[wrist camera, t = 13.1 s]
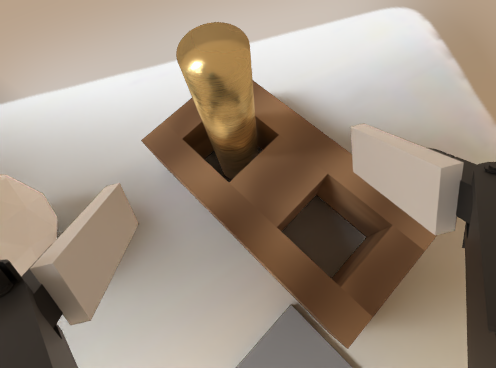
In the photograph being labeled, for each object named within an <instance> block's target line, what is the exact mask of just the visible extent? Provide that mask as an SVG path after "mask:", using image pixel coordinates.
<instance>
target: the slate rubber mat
mask: <svg viewBox="0 0 496 368" xmlns="http://www.w3.org/2000/svg"><path fill="white" fill-rule="evenodd" d="M236 368H352V367H351V366H350V365H349V364H348V363H347V362H346V361H345V360H344V358H343V357H342V356H341V355H340V354H339V353H338V352H337V351H336V350H335V349H334V348H333V347H332V346H331V345H330V344H329V343H328V342H327V341H326V340H325V339H324V338H323V337H322V336H321V335H320V334H319V333H318V332H317V331H316V330H315V329H314V328H313V327H312V326H311V325H310V324H309V323H308V321H307V320H306V319H305V318H304V317H303V316H302V315H301V314H300V313H299V312H298V311H297V310H296V309H295V308H294V307H293V306H292V305H290V306H289V307H288V308H287V310H286V311H285V312H284V313H283V314H282V315H281V316H280V318H279V319H278V320H277V321H276V322H275V323H274V324H273V326H272V327H271V328H270V329H269V330H268V331H267V333H266V334H265V335H264V336H263V337H262V338H261V339H260V341H259V342H258V343H257V344H256V345H255V346H254V347H253V349H252V350H251V351H250V352H249V353H248V354H247V355H246V357H245V358H244V359H243V360H242V361H241V362H240V363H239V365H238V366H237V367H236Z"/></svg>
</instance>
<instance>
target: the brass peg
mask: <svg viewBox="0 0 496 368" xmlns="http://www.w3.org/2000/svg"><path fill="white" fill-rule="evenodd" d="M176 56H177V61H178V64H179V66H180V68H181V71H182V73H183V76H184V78H185V81H186V83H187V86H188V88H189V90H190V93H191V95H192V98H193V100H194V103H195V105H196V107H197V110H198V112H199V115H200V117H201V120H202V122H203V125H204V127H205V129H206V132H207V134H208V137H209V139H210V142H211V144H212V146H213V149H214V151H215V154H216V156H217V159H218V161H219V163H220V166H221V168H222V171H223V173H224V174H225V176H226V177H227V178H229V179H230V180H232V179H233V178H234V177H236V176H237V175H238V174H239V173H240V172H241V171H242V170H243V169H244V168H245V167H246V166H247V165H248V164H249V163H250V162H251V161H252V160H253V159H254V158H255V157H256V156H258V145H257V132H256V120H255V107H254V94H253V81H252V69H251V56H250V44H249V40H248V38H247V36H246V35H245V34H244V32H243V31H242V30H240V29H239V28H237V27H236V26H233V25H231V24H227V23H221V22H220V23H219V22H214V23H207V24H203V25H200V26H198V27H196V28H194V29H192V30H191V31H189V32H188V33H187V34H186V35H185V36H184V37H183V38H182V40H181V41H180V43H179V45H178V47H177V54H176Z"/></svg>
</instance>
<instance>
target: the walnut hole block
mask: <svg viewBox="0 0 496 368" xmlns="http://www.w3.org/2000/svg"><path fill="white" fill-rule="evenodd" d="M252 81H253V80H252ZM253 94H254V107H255V120H256V132H257V145H258V146H259V147H260V148H261V149H262V150H263V151H262V152H261V153H260V154H259V155H258V156H256V157H255V158H254V159H253V160H252V161H251V162H250V163H249V164H248V165H247V166H246V167H245V168H244V169H243V170H242V171H241V172H240V173H239V174H238V175H237V176H236V177H234V178H233V179H232V180H231V181H230V182H228V181H227V180H226V179H225V178H223V177H222V176H221V175H220V174H219V173H218V172H217V171H216V170H215V169H214V168H213V167H212V166H211V165H210V164H208V163H207V162H206V161H205V160H204V159H205V158H206V157H207V156H208V155H210V154H211V153H212V152H213V151H214V149H213V146H212V144H211V142H210V139H209V137H208V134H207V132H206V129H205V127H204V125H203V122H202V120H201V117H200V115H199V112H198V110H197V107H196V105H195V103H194V100H193V98H191V99H190V100H189V101H188V102H186V103H185V104H184V105H183V106H182V107H180V108H179V109H178V110H177V111H176V112H174V113H173V114H172V115H171V116H170V117H169V118H167V119H166V120H165V121H164V122H163V123H161V124H160V125H159V126H158V127H157V128H155V129H154V130H153V131H152V132H151V133H149V134H148V135H147V136H146V137H145V138H144V139H142V140H141V141H142V142H143V143H144V144H145V145H146V146H147V148H148V149H149V150H150V151H151V152H152V153H153V154H154V155H155V156H156V157H157V159H158V160H159V161H160V162H161V163H162V164H163V165H164V166H165V167H166V168H167V169H168V170H169V171H170V172H171V173H172V174H173V175H174V176H175V177H176V178H177V179H178V180H179V181H180V182H181V183H182V184H183V185H184V186H185V187H186V188H187V189H188V190H189V192H190V193H191V194H192V195H193V196H194V197H195V198H196V199H197V200H198V201H199V202H200V203H201V204H202V205H203V206H204V207H205V208H206V209H207V210H208V211H209V212H210V213H211V214H212V215H213V216H214V217H215V218H216V219H217V220H218V221H219V222H220V223H221V224H222V225H223V226H224V227H225V228H226V229H227V230H228V231H229V232H230V233H231V234H232V235H233V236H234V237H235V238H236V239H237V240H238V241H239V242H240V243H241V244H242V245H243V246H244V247H245V248H246V249H247V250H248V251H249V252H250V253H251V254H252V255H253V256H254V257H255V258H256V259H257V260H258V261H259V262H260V263H261V264H262V265H263V266H264V267H265V268H266V269H267V270H268V271H269V272H270V274H271V275H272V276H273V277H274V278H275V279H276V280H277V281H278V282H279V283H280V284H281V285H282V286H283V287H284V288H285V289H286V290H287V291H288V292H289V293H290V294H291V295H292V296H293V297H294V298H295V299H296V300H297V301H298V302H299V303H300V304H301V305H302V306H303V307H304V308H305V309H306V310H307V311H308V312H309V313H310V314H311V315H312V316H313V317H314V318H315V319H316V320H317V321H318V322H319V323H320V324H321V325H322V326H323V327H324V328H325V329H326V330H327V331H328V332H329V333H330V334H331V335H332V336H333V337H334V338H336V339H337V340H338V341H339V342H340V343H341V344H343V345H344V346H345V347H346V348H347V349H348V348H349V347H350V345H351V344H352V343H353V342H354V340H355V339H356V338H357V336H358V335H359V334H360V333H361V331H362V330H363V329H364V328H365V326H366V325H367V324H368V322H369V321H370V320H371V319H372V317H373V316H374V315H375V314H376V312H377V311H378V310H379V308H380V307H381V306H382V305H383V303H384V302H385V301H386V300H387V298H388V297H389V296H390V295H391V293H392V292H393V291H394V289H395V288H396V287H397V286H398V284H399V283H400V282H401V281H402V279H403V278H404V277H405V275H406V274H407V273H408V272H409V270H410V269H411V268H412V267H413V265H414V264H415V263H416V261H417V260H418V259H419V258H420V256H421V255H422V254H423V253H424V251H425V250H426V249H427V248H428V246H429V245H430V244H431V242H432V241H433V240H434V239H435V237H436V236H437V235H434V234H433V233H431V232H430V231H429V230H427V229H426V228H425V227H424V226H422V225H421V224H420V223H418V222H417V221H416V220H415V219H413V218H412V217H411V216H409V215H408V214H407V213H406V212H404V211H403V210H402V209H400V208H399V207H398V206H397V205H395V204H394V203H393V202H391V201H390V200H389V199H388V198H386V197H385V196H384V195H382V194H381V193H380V192H379V191H377V190H376V189H375V188H373V187H372V186H371V185H370V184H368V183H367V182H366V181H364V180H363V179H362V178H361V177H359V176H358V175H357V174H355V173H354V172H353V161H352V154H351V153H350V152H348V151H347V150H346V149H344V148H343V147H341V146H340V145H339V144H337V143H336V142H335V141H333V140H332V139H331V138H329V137H328V136H327V135H325V134H324V133H323V132H321V131H320V130H319V129H317V128H316V127H315V126H313V125H312V124H311V123H309V122H308V121H307V120H305V119H304V118H303V117H301V116H300V115H299V114H297V113H296V112H295V111H293V110H292V109H291V108H289V107H288V106H287V105H285V104H284V103H283V102H281V101H280V100H279V99H277V98H276V97H274V96H273V95H272V94H270V93H269V92H268V91H266V90H265V89H264V88H262V87H261V86H260V85H258V84H257V83H256V82H254V81H253ZM316 195H317V196H318V197H320V198H321V199H322V200H323V201H324V202H326V203H327V204H328V205H329V206H330V207H332V208H333V209H334V210H335V211H336V212H337V213H339V214H340V215H341V216H342V217H343V218H345V219H346V220H347V221H348V222H349V223H351V224H352V225H353V226H354V227H355V228H357V229H358V230H359V231H360V232H361V233H363V234H364V235H365V236H366V237H367V238H366V239H365V240H364V241H363V242H362V243H361V245H360V246H359V247H358V248H357V249H356V251H355V252H354V253H353V254H352V255H351V256H350V258H349V259H348V260H347V261H346V262H345V263H344V265H343V266H342V267H341V268H340V269H339V270H338V272H337V273H336V274H335V275H334V276H333V277H332V279H331V278H330V277H329V276H328V275H327V274H326V273H325V272H324V271H323V270H322V269H321V268H320V267H319V266H318V265H316V264H315V263H314V262H313V261H312V260H311V259H310V258H309V257H308V256H307V255H306V254H305V253H304V252H303V251H301V250H300V249H299V248H298V247H297V246H296V245H295V244H294V243H293V242H292V241H291V240H290V239H289V238H288V237H287V236H285V235H284V234H283V233H282V231H283V230H284V229H285V228H286V227H287V226H288V225H289V223H290V222H291V221H292V220H293V219H294V218H295V217H296V216H297V215H298V214H299V213H300V212H301V211H302V210H303V209H304V208H305V207H306V205H307V204H308V203H309V202H310V201H311V200H312V199H313V198H314V197H315V196H316Z"/></svg>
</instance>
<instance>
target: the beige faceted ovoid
mask: <svg viewBox="0 0 496 368" xmlns="http://www.w3.org/2000/svg"><path fill="white" fill-rule="evenodd" d="M56 240H57V216H56V214H55V213H54V211H53V209H52V208H51V206H50V204H49V203H48V201H47V199H46V197H45V196H44V194H43V193H41V192H39V191H37V190H35V189H33V188H31V187H29V186H27V185H25V184H23V183H21V182H19V181H17V180H15V179H13V178H12V177H10V176H8V175H1V174H0V260H6V259H7V260H9V261H10V262H11V264H12V265H13V266H14V268H15V269H16V270H17V272H18V273H19V274H20V276H22V275H23V274H24V273H25V272H26V271H27V270H28V269H29V268H30V267H31V266H32V265H33V263H34V262H35V261H37V260H38V258H39V257H40V256H41V255H42V254H44V252H45V251H46V250H47V248H48V247H49V246H50V245H51V244H53V243H54V242H55V241H56Z"/></svg>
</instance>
